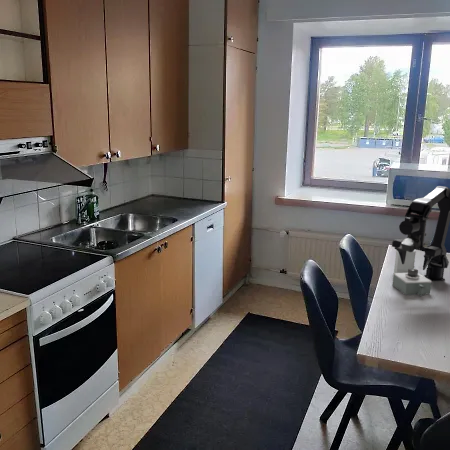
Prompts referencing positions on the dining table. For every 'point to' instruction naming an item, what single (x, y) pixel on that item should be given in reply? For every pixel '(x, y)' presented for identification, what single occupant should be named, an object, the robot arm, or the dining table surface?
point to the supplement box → (407, 265)
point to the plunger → (412, 274)
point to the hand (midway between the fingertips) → (413, 266)
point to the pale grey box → (411, 284)
